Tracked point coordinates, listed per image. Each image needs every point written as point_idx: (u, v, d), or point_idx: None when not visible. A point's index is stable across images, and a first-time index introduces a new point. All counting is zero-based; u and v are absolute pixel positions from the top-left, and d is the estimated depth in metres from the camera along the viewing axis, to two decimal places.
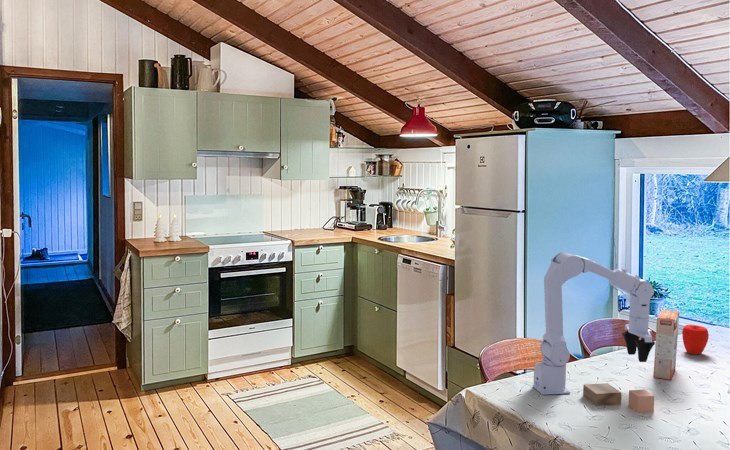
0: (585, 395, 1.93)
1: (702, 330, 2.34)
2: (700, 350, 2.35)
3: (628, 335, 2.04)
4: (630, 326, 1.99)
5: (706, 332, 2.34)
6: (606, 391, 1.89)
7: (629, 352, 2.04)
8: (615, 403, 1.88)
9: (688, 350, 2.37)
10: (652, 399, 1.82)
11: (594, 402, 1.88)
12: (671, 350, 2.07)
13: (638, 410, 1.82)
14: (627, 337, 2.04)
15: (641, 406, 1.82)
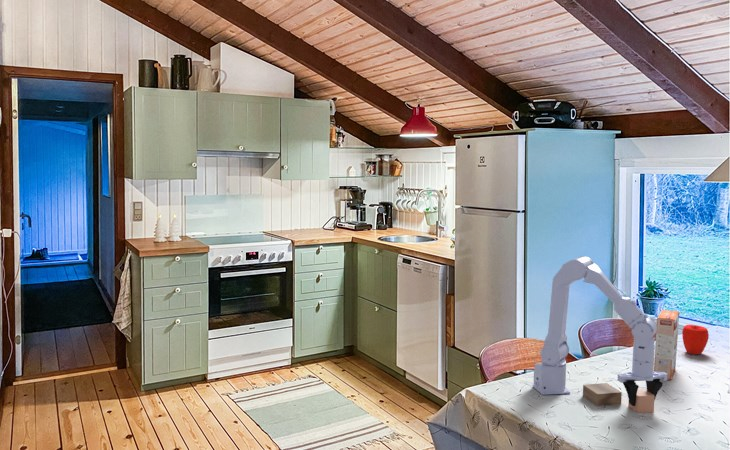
0: (585, 395, 1.93)
1: (702, 330, 2.34)
2: (700, 350, 2.35)
3: (647, 381, 1.85)
4: None
5: (706, 332, 2.34)
6: (606, 391, 1.89)
7: None
8: (615, 403, 1.88)
9: (688, 350, 2.37)
10: (652, 399, 1.82)
11: (595, 402, 1.87)
12: (671, 350, 2.07)
13: (638, 410, 1.82)
14: (647, 383, 1.86)
15: (641, 406, 1.82)
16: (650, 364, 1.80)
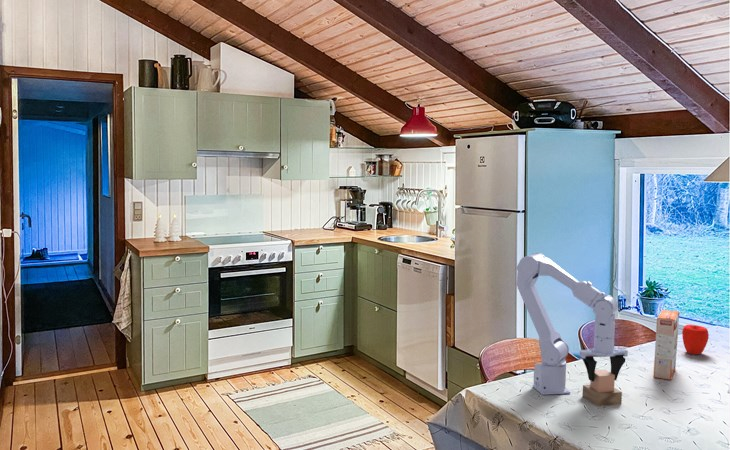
0: (585, 396, 1.93)
1: (702, 330, 2.34)
2: (700, 350, 2.35)
3: (611, 357, 1.92)
4: None
5: (706, 332, 2.34)
6: None
7: None
8: (616, 403, 1.88)
9: (688, 350, 2.37)
10: (612, 378, 1.88)
11: (596, 403, 1.87)
12: (671, 350, 2.07)
13: (599, 389, 1.88)
14: (611, 359, 1.92)
15: (601, 385, 1.88)
16: (610, 340, 1.87)
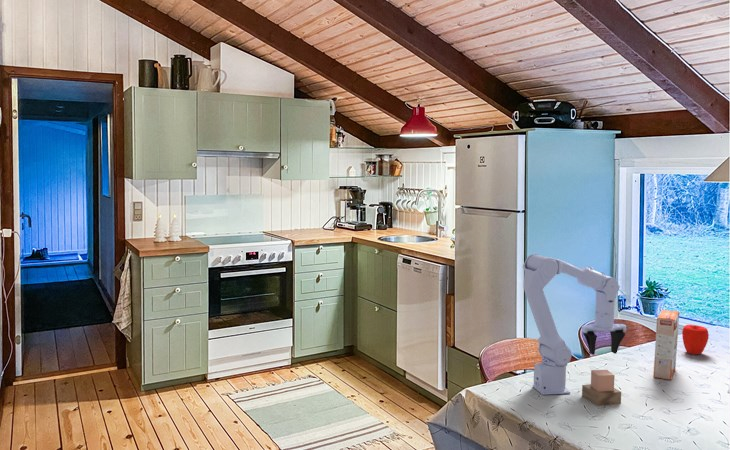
0: (584, 396, 1.93)
1: (702, 330, 2.34)
2: (700, 350, 2.35)
3: (612, 332, 2.05)
4: None
5: (706, 332, 2.34)
6: (606, 391, 1.89)
7: (612, 350, 2.05)
8: (615, 402, 1.88)
9: (688, 350, 2.37)
10: (612, 378, 1.88)
11: (596, 403, 1.87)
12: (671, 350, 2.07)
13: (598, 389, 1.88)
14: (611, 334, 2.05)
15: (601, 385, 1.88)
16: (610, 316, 2.00)
